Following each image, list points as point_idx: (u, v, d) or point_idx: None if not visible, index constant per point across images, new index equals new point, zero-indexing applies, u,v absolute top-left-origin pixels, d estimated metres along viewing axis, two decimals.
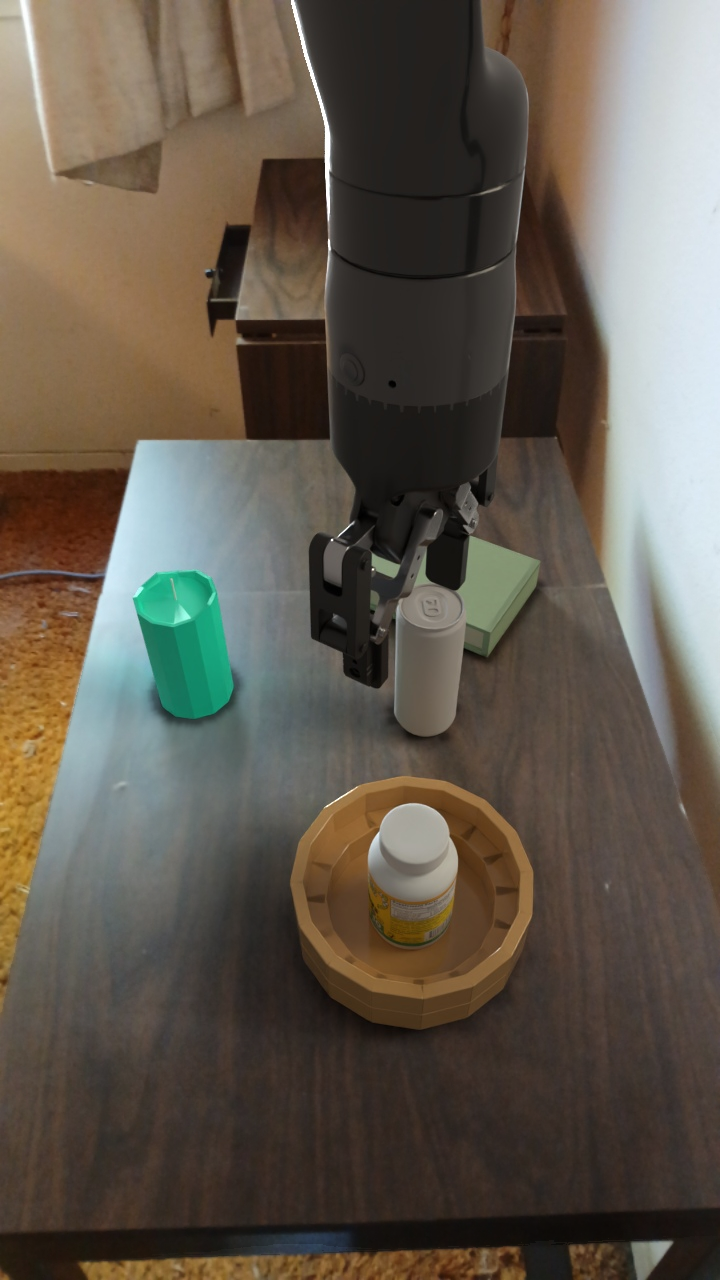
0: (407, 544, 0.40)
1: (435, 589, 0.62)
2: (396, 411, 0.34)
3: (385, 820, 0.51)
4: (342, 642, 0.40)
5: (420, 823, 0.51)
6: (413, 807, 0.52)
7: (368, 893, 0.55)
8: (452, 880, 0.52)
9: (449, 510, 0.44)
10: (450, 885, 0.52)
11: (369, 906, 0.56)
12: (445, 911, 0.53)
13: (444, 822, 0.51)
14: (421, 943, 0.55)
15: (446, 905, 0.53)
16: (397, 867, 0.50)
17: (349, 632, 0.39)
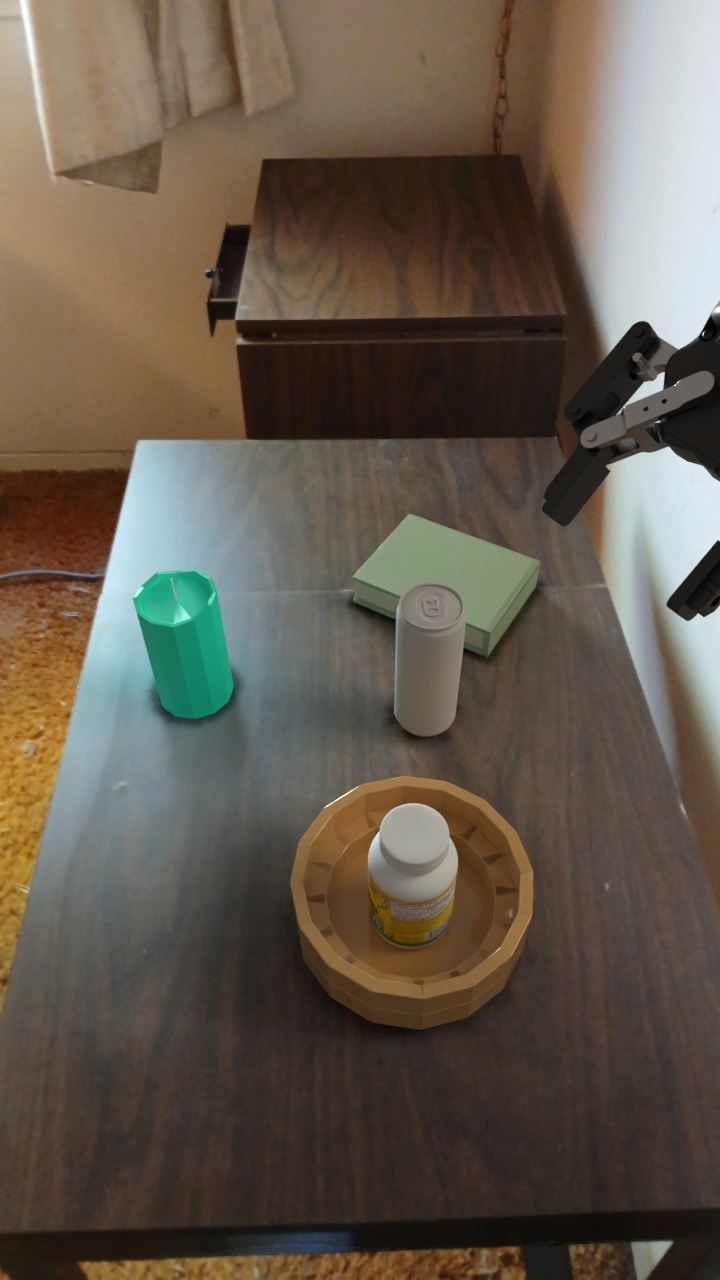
0: None
1: (435, 589, 0.62)
2: None
3: (385, 820, 0.51)
4: None
5: (420, 823, 0.51)
6: (413, 807, 0.52)
7: (368, 893, 0.55)
8: (452, 880, 0.52)
9: None
10: (450, 885, 0.52)
11: (369, 906, 0.56)
12: (445, 911, 0.53)
13: (444, 822, 0.51)
14: (421, 943, 0.55)
15: (446, 905, 0.53)
16: (397, 867, 0.50)
17: None
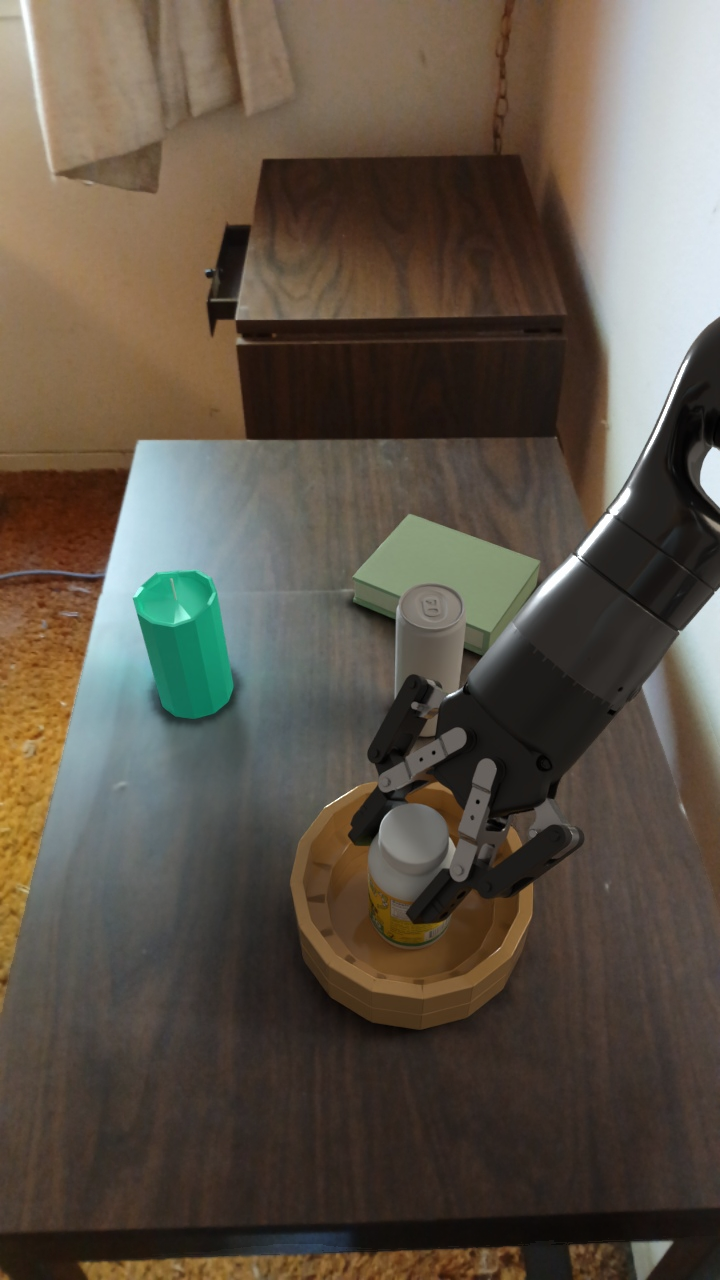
0: (442, 735, 0.51)
1: (435, 589, 0.62)
2: None
3: (385, 820, 0.51)
4: None
5: (420, 823, 0.51)
6: (413, 807, 0.52)
7: (368, 893, 0.55)
8: None
9: None
10: None
11: (369, 906, 0.56)
12: None
13: (444, 822, 0.51)
14: (421, 943, 0.55)
15: None
16: (396, 867, 0.50)
17: None
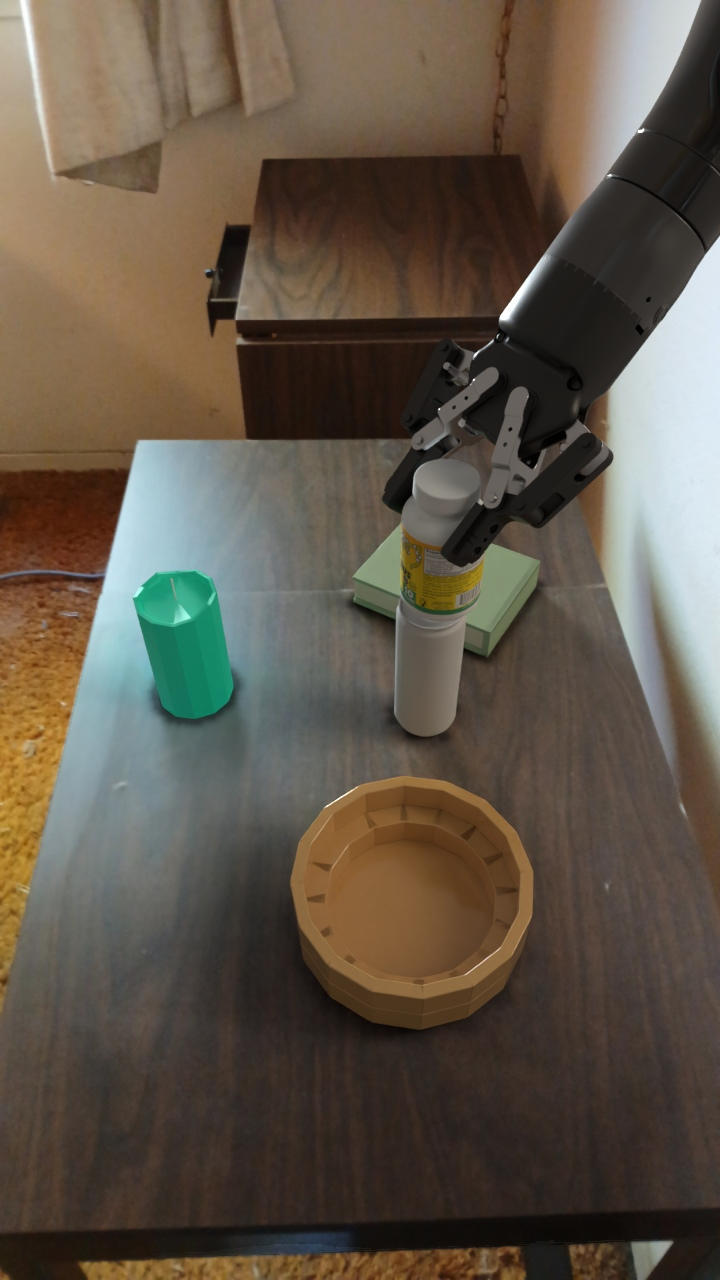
0: None
1: None
2: None
3: (419, 470, 0.53)
4: None
5: (452, 471, 0.53)
6: (445, 461, 0.54)
7: (400, 565, 0.57)
8: None
9: None
10: None
11: (401, 581, 0.58)
12: (475, 572, 0.55)
13: (476, 471, 0.53)
14: (452, 611, 0.57)
15: (477, 563, 0.55)
16: (431, 508, 0.52)
17: None
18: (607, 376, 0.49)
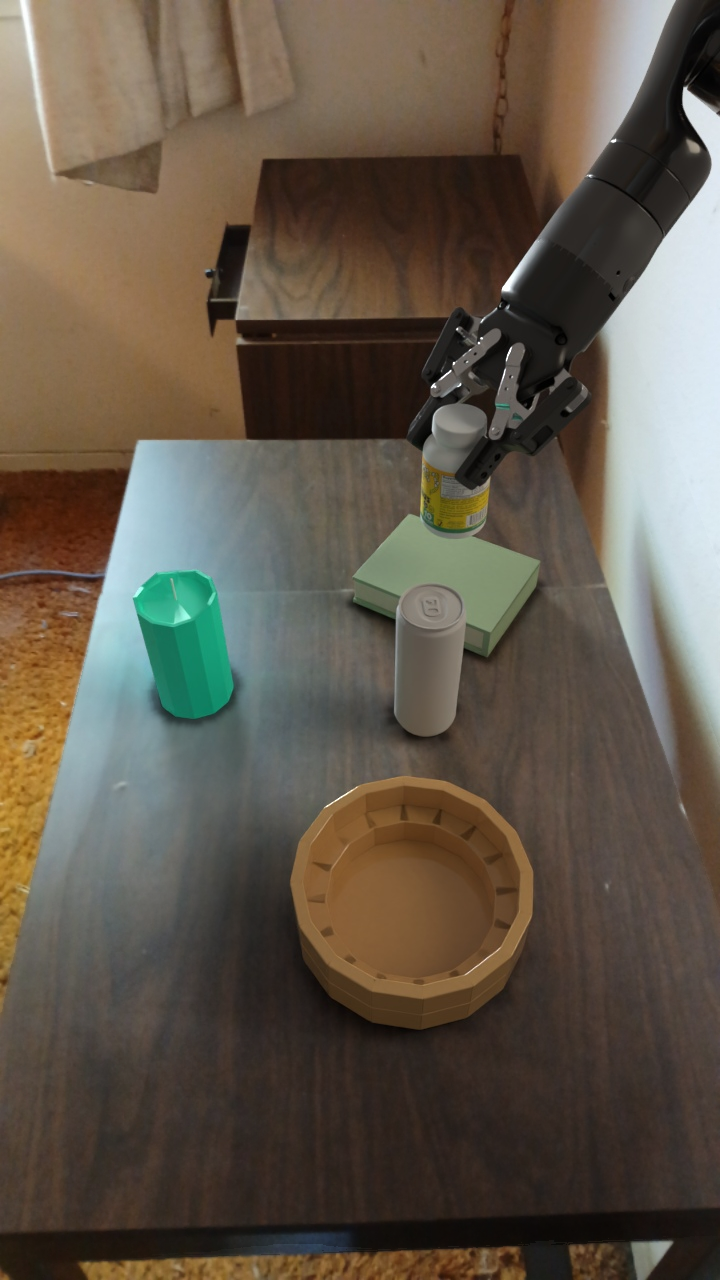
0: None
1: (435, 589, 0.62)
2: None
3: (437, 412, 0.66)
4: None
5: (464, 413, 0.66)
6: (458, 405, 0.67)
7: (421, 493, 0.70)
8: None
9: None
10: None
11: (421, 506, 0.71)
12: (482, 497, 0.68)
13: (483, 412, 0.66)
14: (463, 530, 0.70)
15: (483, 489, 0.68)
16: (447, 441, 0.65)
17: None
18: (587, 334, 0.62)
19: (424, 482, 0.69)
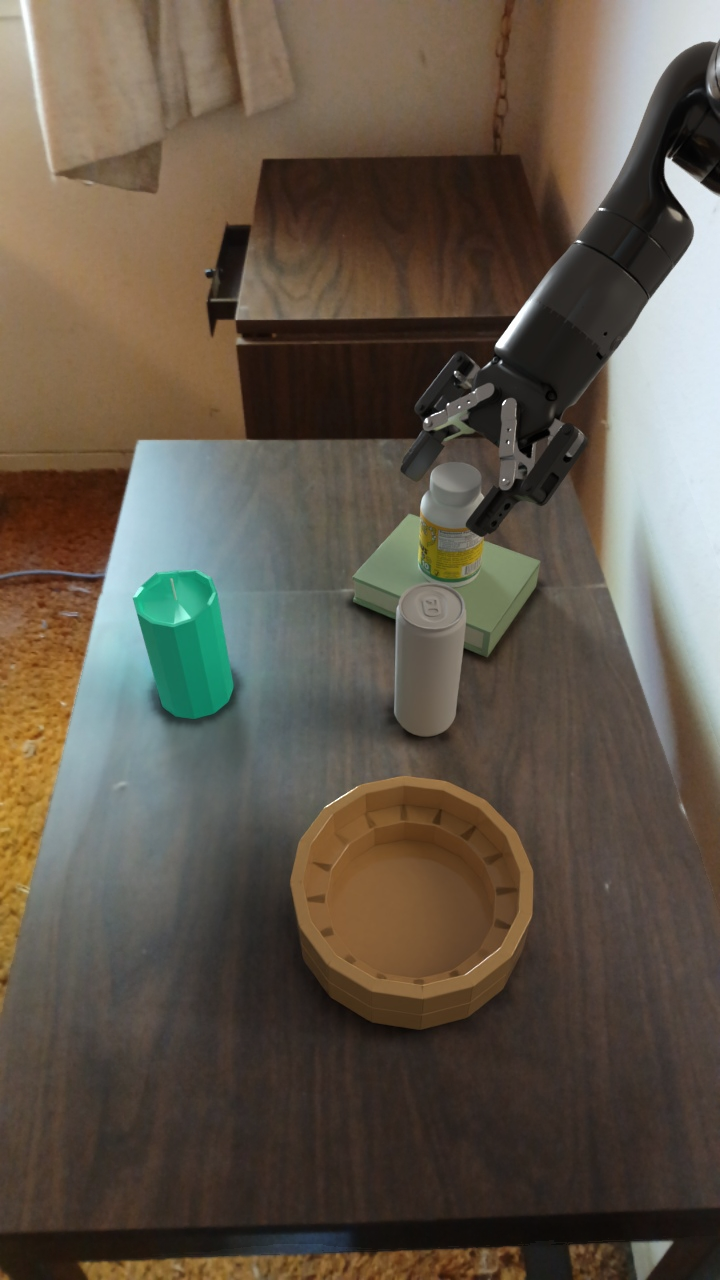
0: None
1: (435, 589, 0.62)
2: None
3: (434, 470, 0.70)
4: None
5: (460, 471, 0.70)
6: (454, 463, 0.71)
7: (419, 544, 0.74)
8: None
9: None
10: None
11: (419, 556, 0.75)
12: (477, 549, 0.72)
13: (477, 471, 0.70)
14: (459, 579, 0.74)
15: (478, 542, 0.72)
16: (444, 499, 0.69)
17: None
18: (575, 390, 0.65)
19: (422, 535, 0.72)
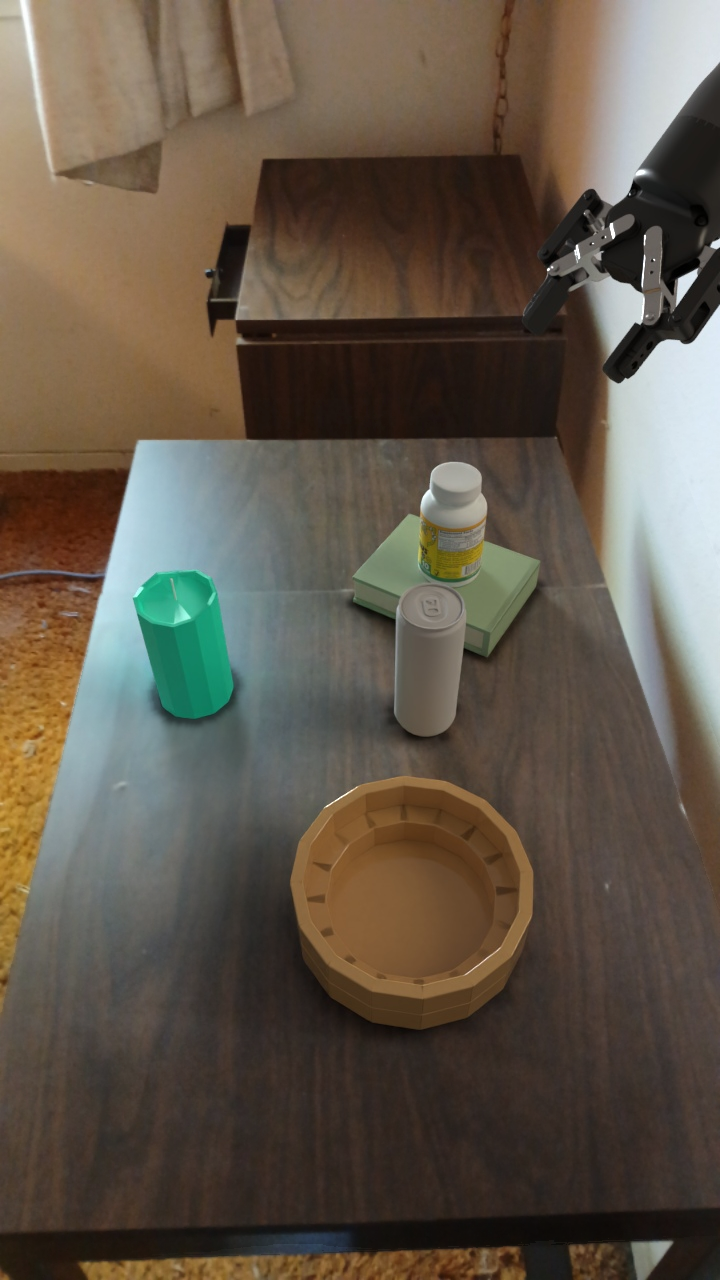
0: None
1: (435, 589, 0.62)
2: None
3: (434, 470, 0.70)
4: None
5: (460, 471, 0.70)
6: (454, 463, 0.71)
7: (419, 544, 0.74)
8: (483, 516, 0.70)
9: None
10: (482, 520, 0.70)
11: (419, 556, 0.75)
12: (477, 549, 0.72)
13: (477, 471, 0.70)
14: (459, 579, 0.74)
15: (478, 542, 0.72)
16: (444, 499, 0.69)
17: None
18: None
19: (422, 535, 0.72)
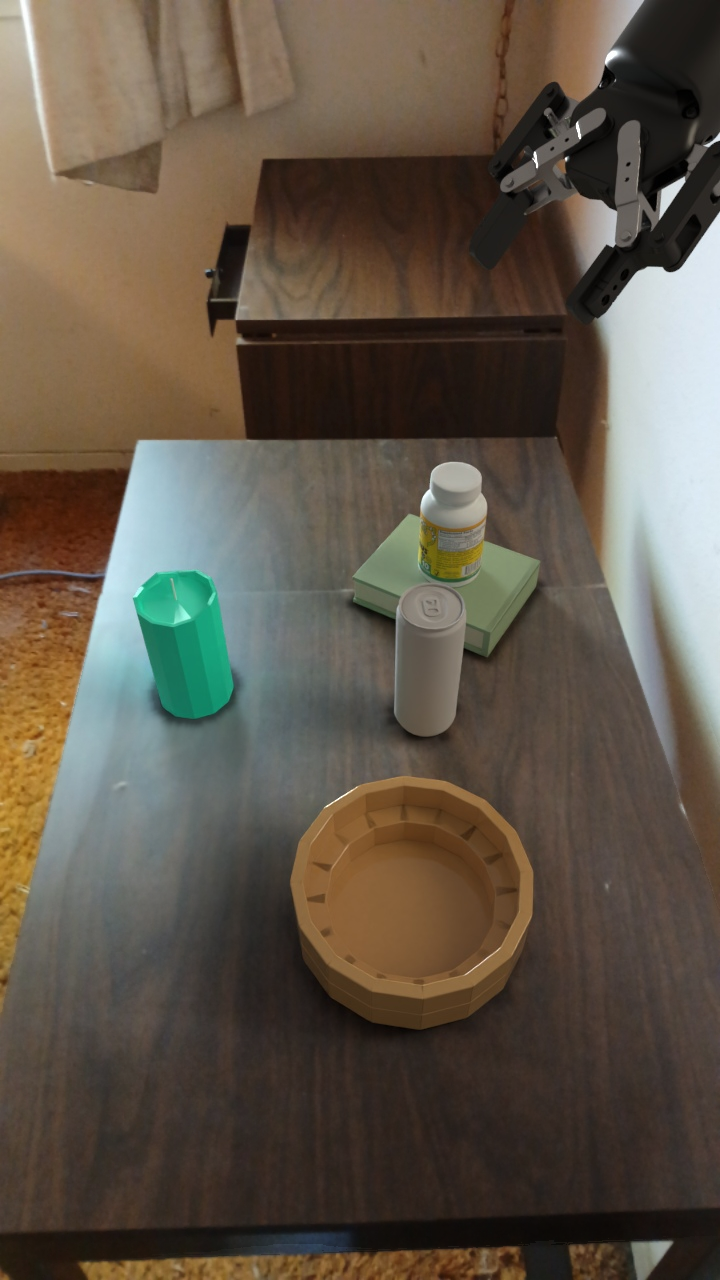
0: None
1: (435, 589, 0.62)
2: None
3: (434, 470, 0.70)
4: None
5: (460, 471, 0.70)
6: (454, 463, 0.71)
7: (419, 544, 0.74)
8: (483, 516, 0.70)
9: None
10: (482, 520, 0.70)
11: (419, 556, 0.75)
12: (477, 549, 0.72)
13: (477, 471, 0.70)
14: (459, 579, 0.74)
15: (478, 542, 0.72)
16: (444, 499, 0.69)
17: None
18: None
19: (422, 535, 0.72)
